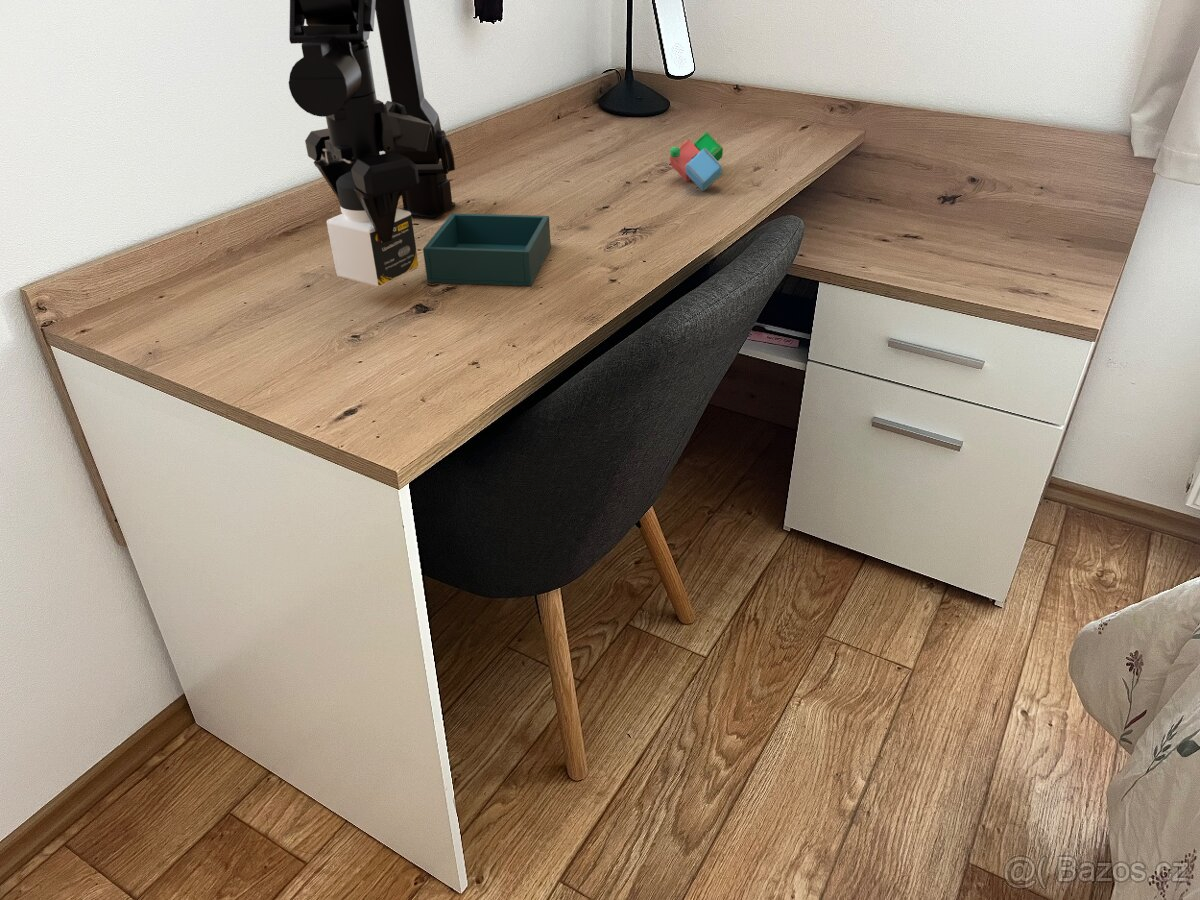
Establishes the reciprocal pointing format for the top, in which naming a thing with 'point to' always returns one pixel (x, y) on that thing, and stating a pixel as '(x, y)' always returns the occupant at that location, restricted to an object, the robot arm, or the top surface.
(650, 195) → the top surface
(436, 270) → the desk bin
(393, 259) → the medicine bottle
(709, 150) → the building blocks
